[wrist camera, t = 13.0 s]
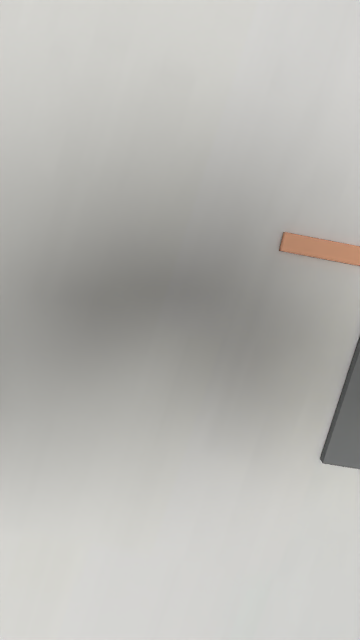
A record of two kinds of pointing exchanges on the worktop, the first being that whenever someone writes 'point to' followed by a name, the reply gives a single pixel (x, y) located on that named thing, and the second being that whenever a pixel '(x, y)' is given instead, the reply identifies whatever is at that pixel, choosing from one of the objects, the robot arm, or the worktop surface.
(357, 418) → the mat
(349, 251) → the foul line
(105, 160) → the worktop surface
